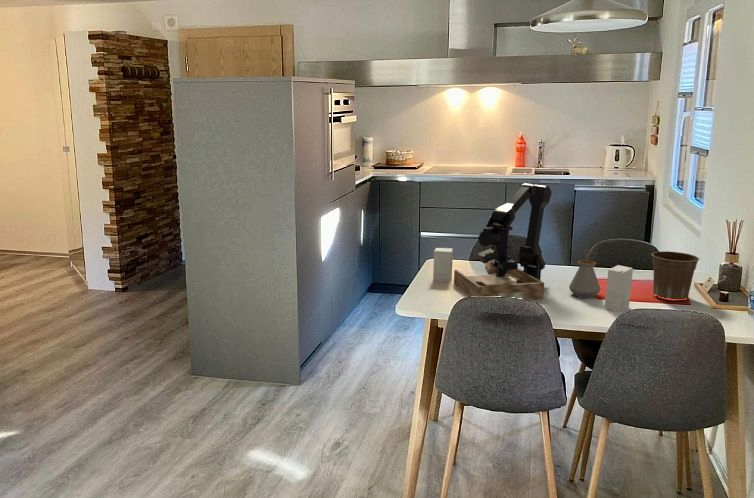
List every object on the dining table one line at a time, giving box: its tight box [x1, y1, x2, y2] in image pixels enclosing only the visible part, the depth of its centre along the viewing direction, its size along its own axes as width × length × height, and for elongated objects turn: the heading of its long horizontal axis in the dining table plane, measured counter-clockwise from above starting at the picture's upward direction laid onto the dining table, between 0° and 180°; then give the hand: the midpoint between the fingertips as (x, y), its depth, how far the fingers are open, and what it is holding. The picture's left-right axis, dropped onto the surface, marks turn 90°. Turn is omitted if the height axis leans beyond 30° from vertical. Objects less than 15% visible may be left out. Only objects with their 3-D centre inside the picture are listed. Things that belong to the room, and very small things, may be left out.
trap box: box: [453, 268, 545, 300], centre depth 259 cm, size 26×26×6 cm
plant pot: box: [651, 250, 700, 299], centre depth 250 cm, size 16×16×16 cm
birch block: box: [495, 276, 517, 285], centre depth 250 cm, size 6×6×4 cm
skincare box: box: [604, 264, 634, 313], centre depth 237 cm, size 8×6×15 cm
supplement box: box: [432, 247, 454, 283], centre depth 274 cm, size 7×7×13 cm
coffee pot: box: [568, 248, 602, 299], centre depth 258 cm, size 21×12×15 cm, turn 162°
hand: (499, 282), depth 257 cm, fingers closed
